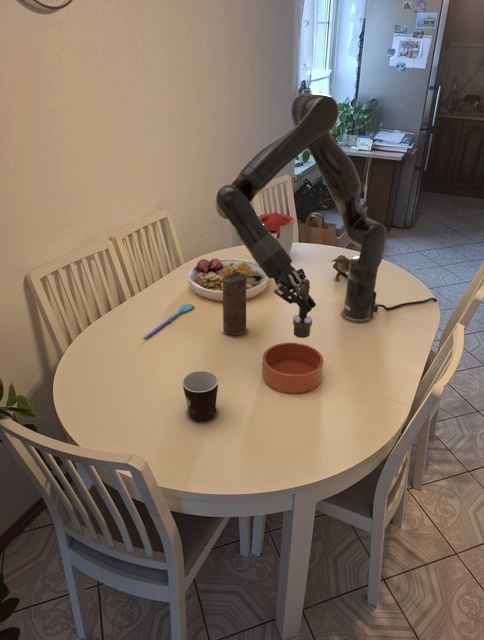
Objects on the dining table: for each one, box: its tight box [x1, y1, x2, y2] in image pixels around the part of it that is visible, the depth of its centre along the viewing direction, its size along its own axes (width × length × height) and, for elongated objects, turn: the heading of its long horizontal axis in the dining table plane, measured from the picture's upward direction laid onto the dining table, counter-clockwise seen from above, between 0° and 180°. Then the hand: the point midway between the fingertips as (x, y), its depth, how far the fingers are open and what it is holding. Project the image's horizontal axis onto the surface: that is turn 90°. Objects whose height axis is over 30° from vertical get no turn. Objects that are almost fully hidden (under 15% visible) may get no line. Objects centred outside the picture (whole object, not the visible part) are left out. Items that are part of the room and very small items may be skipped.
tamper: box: [292, 278, 313, 339], centre depth 127 cm, size 5×5×16 cm
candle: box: [222, 272, 247, 336], centre depth 152 cm, size 8×7×20 cm
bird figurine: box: [331, 254, 351, 281], centre depth 190 cm, size 13×10×20 cm
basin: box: [261, 342, 324, 395], centre depth 136 cm, size 17×17×6 cm
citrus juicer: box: [257, 211, 295, 256], centre depth 203 cm, size 16×17×20 cm
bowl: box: [187, 257, 270, 302], centre depth 183 cm, size 30×30×8 cm
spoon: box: [145, 304, 194, 339], centre depth 161 cm, size 25×4×1 cm, turn 158°
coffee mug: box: [181, 370, 219, 423], centre depth 119 cm, size 12×9×10 cm
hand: (310, 309), depth 126 cm, fingers closed on tamper
